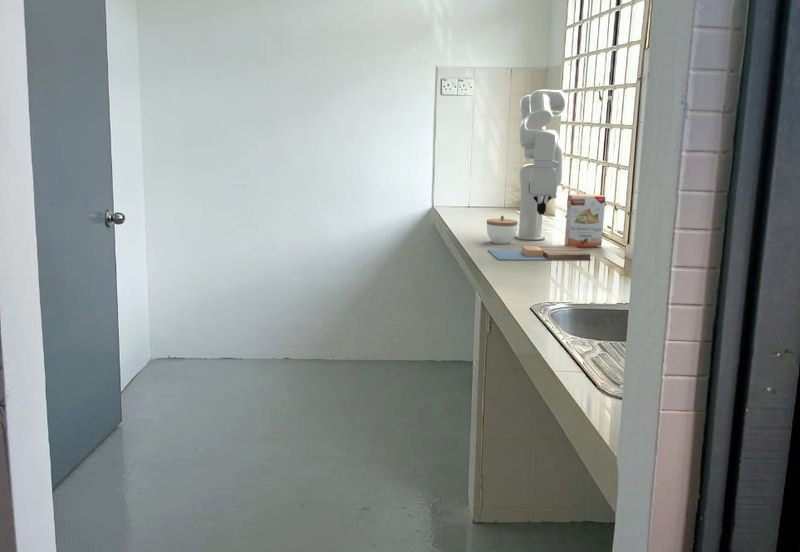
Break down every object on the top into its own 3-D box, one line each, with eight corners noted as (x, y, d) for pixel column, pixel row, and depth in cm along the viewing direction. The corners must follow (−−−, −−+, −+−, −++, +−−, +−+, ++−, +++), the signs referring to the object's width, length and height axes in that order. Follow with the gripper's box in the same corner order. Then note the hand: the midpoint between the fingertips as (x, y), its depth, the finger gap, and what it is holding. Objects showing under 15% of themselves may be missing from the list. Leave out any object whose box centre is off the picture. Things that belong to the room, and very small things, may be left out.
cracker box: (567, 247, 323) (571, 195, 319) (564, 244, 329) (567, 194, 325) (602, 247, 324) (605, 196, 319) (597, 245, 330) (601, 194, 325)
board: (535, 251, 313) (535, 246, 312) (575, 251, 314) (575, 246, 314) (547, 259, 295) (548, 254, 295) (590, 259, 296) (590, 254, 296)
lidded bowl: (515, 245, 325) (516, 218, 323) (484, 244, 327) (485, 217, 325) (517, 240, 337) (518, 214, 335) (487, 239, 339) (488, 213, 337)
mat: (487, 250, 312) (487, 249, 312) (533, 250, 313) (534, 249, 313) (498, 260, 292) (498, 259, 292) (547, 260, 294) (547, 259, 294)
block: (521, 252, 307) (521, 246, 307) (536, 252, 308) (537, 246, 307) (527, 256, 298) (527, 250, 298) (542, 256, 299) (543, 250, 298)
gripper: (560, 164, 301) (557, 212, 305) (521, 163, 300) (519, 212, 304) (566, 165, 294) (563, 215, 298) (526, 165, 292) (524, 215, 296)
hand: (541, 213), depth 301 cm, fingers closed
